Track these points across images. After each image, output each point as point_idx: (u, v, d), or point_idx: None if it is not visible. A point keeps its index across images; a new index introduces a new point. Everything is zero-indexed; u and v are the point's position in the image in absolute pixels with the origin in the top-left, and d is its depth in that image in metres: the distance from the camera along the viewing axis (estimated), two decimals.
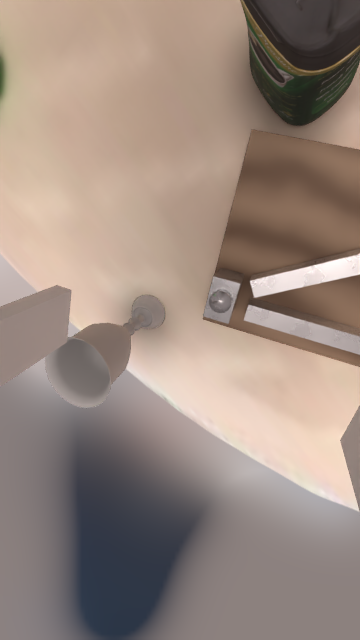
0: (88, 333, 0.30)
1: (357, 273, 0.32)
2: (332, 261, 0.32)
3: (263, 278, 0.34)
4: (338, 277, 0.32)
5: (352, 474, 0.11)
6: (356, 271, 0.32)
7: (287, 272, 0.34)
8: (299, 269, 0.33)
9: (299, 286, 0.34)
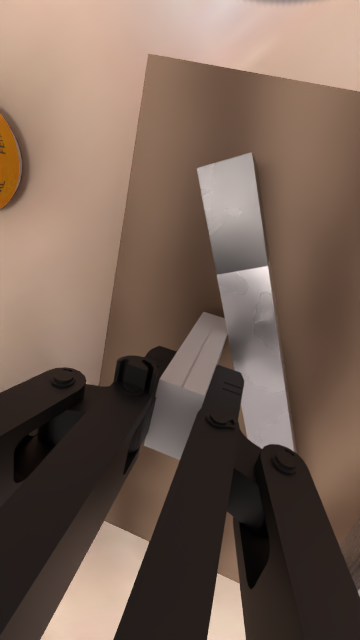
0: None
1: None
2: None
3: None
4: None
5: None
6: None
7: None
8: None
9: None
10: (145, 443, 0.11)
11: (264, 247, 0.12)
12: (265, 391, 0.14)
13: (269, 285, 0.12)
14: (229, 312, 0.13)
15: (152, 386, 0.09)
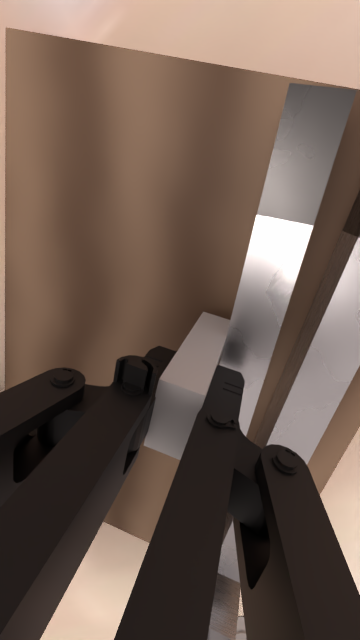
0: None
1: None
2: None
3: None
4: None
5: None
6: None
7: None
8: None
9: None
10: (144, 443, 0.11)
11: (319, 204, 0.11)
12: (251, 353, 0.13)
13: (305, 247, 0.11)
14: (251, 260, 0.12)
15: (152, 386, 0.09)
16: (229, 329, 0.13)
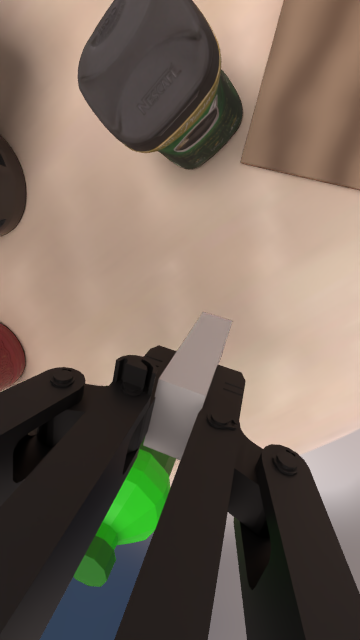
0: None
1: None
2: None
3: None
4: None
5: None
6: None
7: None
8: None
9: None
10: (144, 443, 0.11)
11: None
12: None
13: None
14: None
15: (151, 386, 0.09)
16: None
